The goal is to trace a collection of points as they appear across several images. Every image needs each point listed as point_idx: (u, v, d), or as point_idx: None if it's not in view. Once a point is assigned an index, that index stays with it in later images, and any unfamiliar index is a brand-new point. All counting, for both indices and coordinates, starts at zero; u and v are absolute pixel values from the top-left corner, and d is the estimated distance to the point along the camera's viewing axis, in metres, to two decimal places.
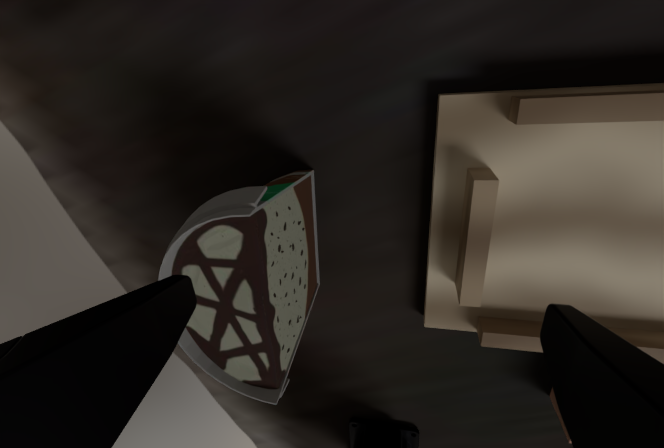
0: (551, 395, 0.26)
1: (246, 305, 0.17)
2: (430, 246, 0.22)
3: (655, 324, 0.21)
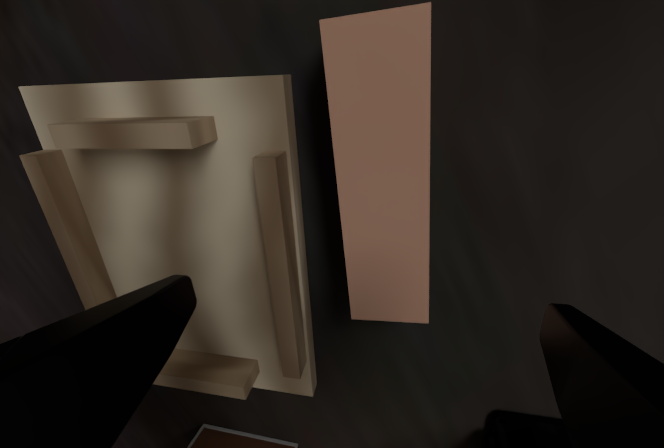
0: None
1: None
2: None
3: None
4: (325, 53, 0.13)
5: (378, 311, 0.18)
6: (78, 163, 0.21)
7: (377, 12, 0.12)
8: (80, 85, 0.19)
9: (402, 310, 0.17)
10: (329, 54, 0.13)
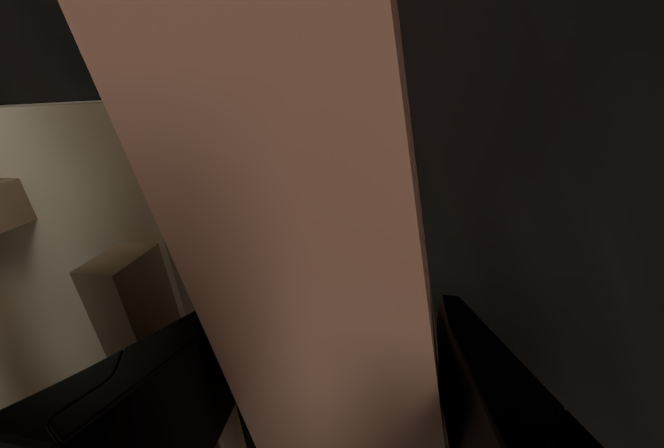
0: None
1: None
2: None
3: None
4: (95, 73, 0.04)
5: None
6: None
7: None
8: None
9: None
10: (106, 74, 0.04)
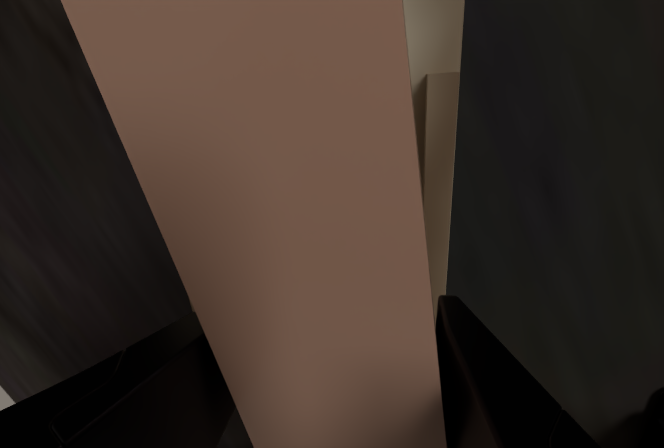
0: None
1: None
2: None
3: None
4: (94, 65, 0.04)
5: None
6: None
7: None
8: None
9: None
10: (106, 67, 0.04)
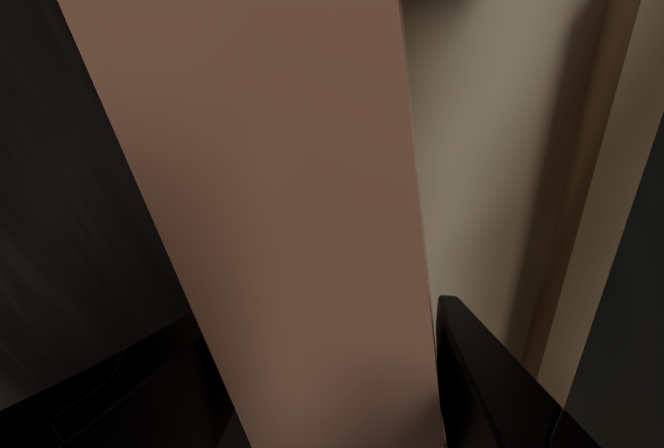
0: None
1: None
2: None
3: (557, 139, 0.11)
4: (91, 65, 0.04)
5: None
6: None
7: None
8: None
9: None
10: (102, 66, 0.04)
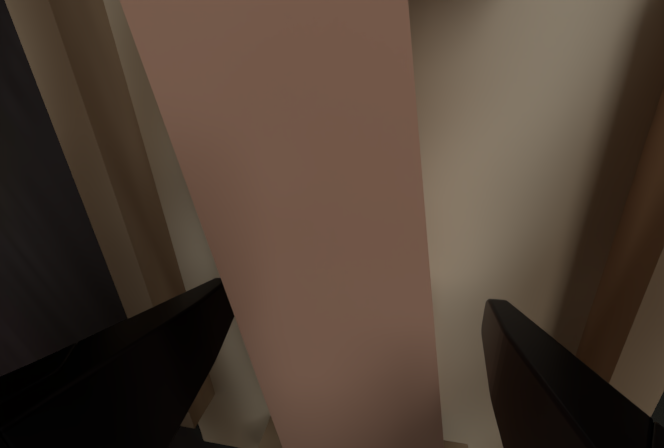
0: None
1: None
2: None
3: (612, 167, 0.08)
4: (147, 62, 0.05)
5: None
6: None
7: None
8: None
9: None
10: (157, 64, 0.05)
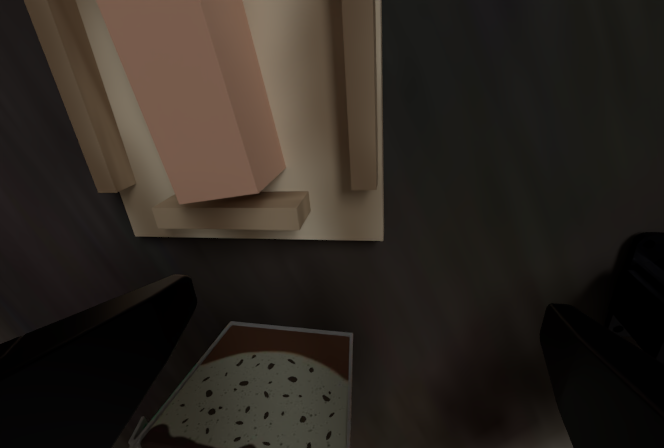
0: None
1: None
2: (270, 237, 0.20)
3: None
4: None
5: (202, 188, 0.15)
6: None
7: None
8: None
9: (226, 181, 0.15)
10: None
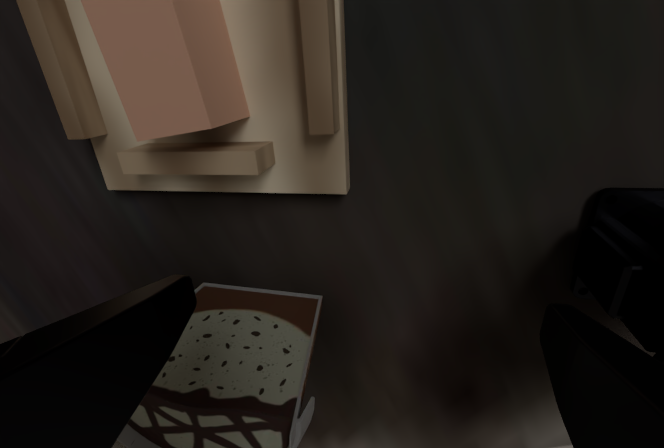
0: None
1: (182, 416, 0.17)
2: (237, 191, 0.20)
3: None
4: None
5: (158, 124, 0.15)
6: None
7: None
8: None
9: (180, 116, 0.15)
10: None
